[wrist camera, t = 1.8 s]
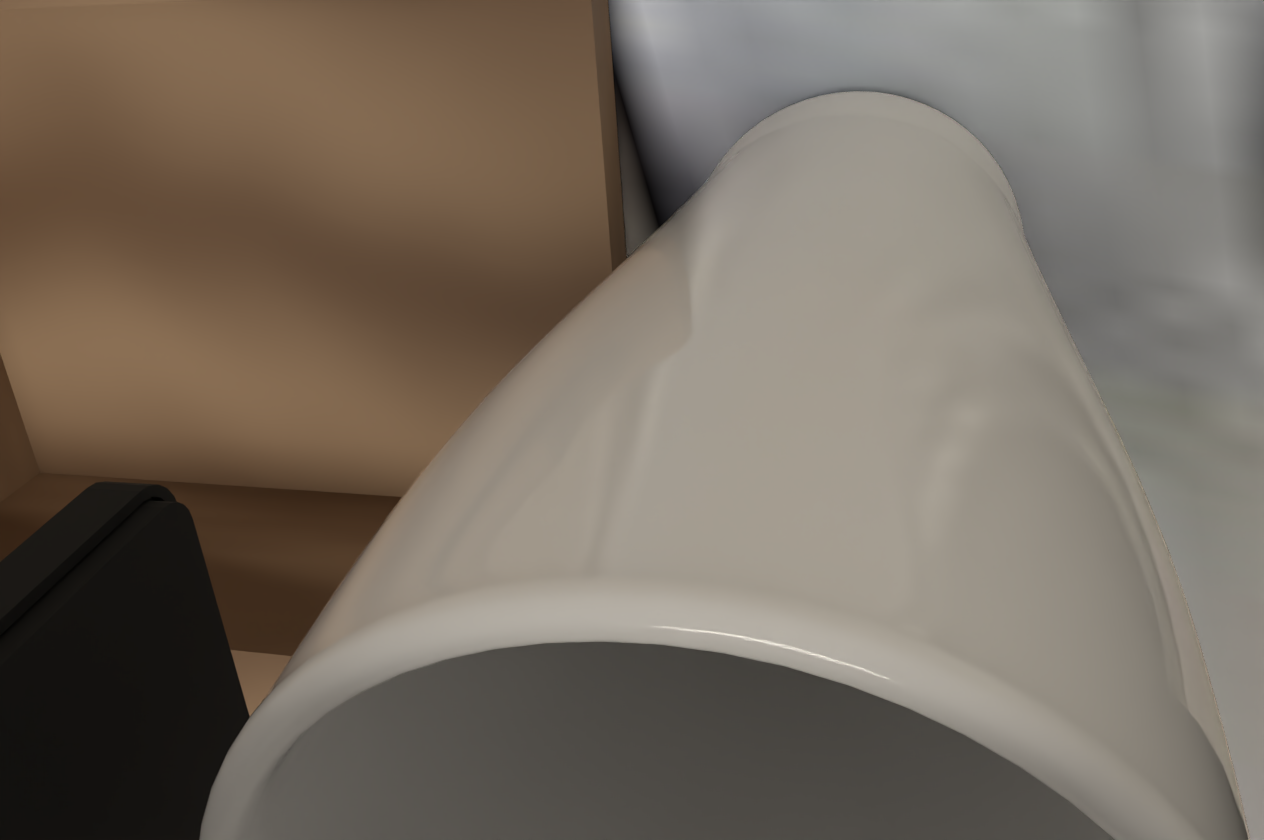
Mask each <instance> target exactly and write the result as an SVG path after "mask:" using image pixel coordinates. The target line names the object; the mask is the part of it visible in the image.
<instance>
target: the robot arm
mask: <svg viewBox="0 0 1264 840" xmlns="http://www.w3.org/2000/svg"><path fill="white" fill-rule="evenodd" d="M249 717H250V716H249V712H248V709H247V706H246V702H245V699H244V695H243V692H242V688H241V685H240V681H239V678H238V674H237V671H236V667H235V664H234V660H233V657H232V653H231V650H230V646H229V643H228V639H227V636H226V632H225V629H224V625H223V622H222V618H221V615H220V611H219V608H218V605H217V601H216V598H215V594H214V591H213V587H212V584H211V580H210V577H209V573H208V570H207V566H206V563H205V559H204V556H203V552H202V549H201V545H200V542H199V538H198V535H197V531H196V528H195V524H194V521H193V518H192V516H191V513H190V511H189V509H188V508H187V507H186V506H185V505H184V504H182V503H179V502H177V501H176V499H175V496H174V495H173V494H172V493H171V492H170V491H169V489H168V488H166V487H163V486H161V485H159V484H142V483H125V482H108V481H105V482H96V483H94V484H93V485H91V486H89V487H88V488H86V489H85V490H84V491H83V492H81V493H80V494H79V495H78V496H77V497H76V498H74V499H73V500H72V501H71V502H70V503H69V504H67V505H66V506H65V507H64V508H63V509H62V510H60V511H59V512H58V513H57V514H56V515H55V516H53V517H52V518H51V519H50V520H49V521H47V522H46V523H45V524H44V525H43V526H42V527H40V528H39V529H38V530H37V531H36V532H35V533H33V534H32V535H31V536H30V537H29V538H28V539H26V540H25V541H24V542H23V543H22V544H21V545H19V546H18V547H17V548H16V549H15V550H14V551H12V552H11V553H10V554H9V555H8V556H6V557H5V558H4V559H3V560H2V561H1V562H0V840H199V838H200V831H201V823H202V819H203V815H204V812H205V808H206V805H207V802H208V798H209V795H210V791H211V788H212V785H213V782H214V780H215V778H216V776H217V774H218V772H219V769H220V767H221V765H222V763H223V761H224V759H225V756H226V754H227V752H228V750H229V748H230V746H231V745H232V743H233V742H234V740H235V739H236V737H237V736H238V734H239V733H240V731H241V730H242V728H243V727H244V725H245V723H246V722H247V720H248V719H249Z"/></svg>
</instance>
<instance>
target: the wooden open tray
mask: <svg viewBox="0 0 1264 840" xmlns="http://www.w3.org/2000/svg"><path fill="white" fill-rule="evenodd" d="M625 259H626V247H625V232H624V218H623V204H622V190H621V176H620V162H619V148H618V134H617V120H616V106H615V92H614V78H613V64H612V50H611V36H610V22H609V7H608V0H0V562H1V561H2V560H3V559H4V558H5V557H6V556H8V555H9V554H10V553H11V552H12V551H14V550H15V549H16V548H17V547H18V546H19V545H21V544H22V543H23V542H24V541H25V540H26V539H28V538H29V537H30V536H31V535H32V534H33V533H35V532H36V531H37V530H38V529H39V528H40V527H42V526H43V525H44V524H45V523H46V522H47V521H49V520H50V519H51V518H52V517H53V516H55V515H56V514H57V513H58V512H59V511H60V510H62V509H63V508H64V507H65V506H66V505H67V504H69V503H70V502H71V501H72V500H73V499H74V498H76V497H77V496H78V495H79V494H80V493H81V492H83V491H84V490H85V489H86V488H88V487H89V486H91V485H93V484H94V483H96V482H105V481H108V482H125V483H142V484H159V485H161V486H163V487H166V488H168V489H169V491H170V492H171V493H172V494H173V495H174V496H175V499H176V501H177V502H179V503H182V504H184V505H185V506H186V507H187V508H188V509H189V511H190V513H191V516H192V518H193V521H194V524H195V528H196V531H197V535H198V538H199V542H200V545H201V549H202V552H203V556H204V559H205V563H206V566H207V570H208V573H209V577H210V580H211V584H212V587H213V591H214V594H215V598H216V601H217V605H218V608H219V611H220V615H221V618H222V622H223V625H224V629H225V632H226V636H227V639H228V643H229V646H230V650H231V653H232V657H233V660H234V664H235V667H236V671H237V674H238V678H239V681H240V685H241V688H242V692H243V695H244V699H245V702H246V706H247V709H248V712H249V716H251V714H252V713H253V712H254V711H255V709H256V708H257V707H258V706H259V704H260V703H261V702H262V700H263V699H264V697H265V696H266V695H267V693H268V692H269V690H270V689H271V687H272V686H273V684H274V683H275V681H276V679H277V678H278V676H279V675H280V673H281V672H282V670H283V669H284V667H285V666H286V664H287V662H288V661H289V659H290V658H291V656H292V655H293V653H294V652H295V650H296V649H297V647H298V646H299V644H300V643H301V641H302V640H303V638H304V637H305V635H306V634H307V632H308V631H309V629H310V628H311V626H312V624H313V623H314V621H315V620H316V618H317V617H318V615H319V614H320V612H321V611H322V609H323V608H324V606H325V605H326V603H327V602H328V600H329V599H330V597H331V596H332V594H333V593H334V591H335V590H336V588H337V587H338V585H339V584H340V583H341V581H342V580H343V578H344V577H345V575H346V574H347V572H348V571H349V569H350V568H351V567H352V565H353V564H354V562H355V561H356V559H357V558H358V556H359V555H360V553H361V552H362V551H363V549H364V548H365V547H366V545H367V544H368V542H369V541H370V540H371V538H372V537H373V535H374V534H375V533H376V531H377V530H378V528H379V527H380V526H381V524H382V523H383V522H384V520H385V519H386V517H387V516H388V515H389V513H390V512H391V511H392V509H393V508H394V507H395V506H396V504H397V503H398V502H399V500H400V499H401V498H402V496H403V495H404V494H405V492H406V491H407V490H408V488H409V487H410V486H411V484H412V483H413V482H414V481H415V479H416V478H417V477H418V476H419V474H420V473H421V472H422V471H423V469H424V468H425V467H426V466H427V464H428V463H429V462H430V461H431V459H432V458H433V457H434V456H435V455H436V453H437V452H438V451H439V450H440V448H441V447H442V446H443V445H444V444H445V442H446V441H447V440H448V439H449V438H450V437H451V435H452V434H453V433H454V432H455V431H456V430H457V428H458V427H459V426H460V425H461V424H462V423H463V421H464V420H465V419H466V418H467V417H468V416H469V415H470V413H471V412H472V411H473V410H474V409H475V408H476V407H477V405H478V404H479V403H480V402H481V401H482V400H483V398H484V397H485V396H486V395H487V394H488V393H489V392H490V390H491V389H492V388H493V387H494V386H495V385H496V384H497V383H498V382H499V381H500V380H501V379H502V378H503V377H504V376H505V375H506V373H507V372H508V371H509V370H510V369H511V368H512V367H513V366H514V365H515V364H516V363H517V362H518V361H519V360H520V359H521V358H522V357H523V356H524V355H525V354H526V353H527V352H528V351H529V350H530V349H531V348H532V347H533V346H534V345H535V344H536V343H537V342H538V341H539V340H540V339H541V338H542V337H543V336H545V335H546V334H547V333H548V332H549V331H550V330H551V329H552V328H553V327H554V326H555V325H556V324H557V323H558V322H559V321H560V320H561V319H562V318H564V317H565V316H566V315H567V314H568V313H569V312H570V311H571V310H572V309H573V308H574V307H575V306H576V305H577V304H578V303H580V302H581V301H582V300H583V299H584V298H585V297H586V296H587V295H588V294H589V293H590V292H591V291H592V290H593V289H594V288H596V287H597V286H598V285H599V284H600V283H601V282H602V281H603V280H604V279H605V278H606V277H607V276H608V275H609V274H611V273H612V272H613V271H614V270H615V269H616V268H617V267H618V266H619V265H620V264H621V263H622V262H623V261H624V260H625Z"/></svg>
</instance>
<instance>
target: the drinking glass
mask: <svg viewBox="0 0 1264 840" xmlns="http://www.w3.org/2000/svg"><path fill="white" fill-rule="evenodd" d="M199 840H1251V839H1250V834H1249V830H1248V826H1247V821H1246V817H1245V813H1244V808H1243V804H1242V800H1241V795H1240V791H1239V787H1238V783H1237V778H1236V774H1235V770H1234V767H1233V763H1232V759H1231V755H1230V751H1229V747H1228V743H1227V739H1226V735H1225V731H1224V727H1223V724H1222V720H1221V717H1220V713H1219V709H1218V706H1217V702H1216V698H1215V695H1214V691H1213V688H1212V684H1211V681H1210V677H1209V674H1208V670H1207V667H1206V663H1205V660H1204V656H1203V652H1202V649H1201V645H1200V642H1199V638H1198V635H1197V632H1196V629H1195V626H1194V623H1193V620H1192V616H1191V613H1190V610H1189V607H1188V604H1187V601H1186V598H1185V595H1184V591H1183V589H1182V586H1181V583H1180V580H1179V577H1178V575H1177V572H1176V569H1175V566H1174V564H1173V561H1172V558H1171V555H1170V552H1169V550H1168V547H1167V545H1166V542H1165V540H1164V537H1163V535H1162V532H1161V530H1160V527H1159V525H1158V523H1157V520H1156V518H1155V515H1154V513H1153V510H1152V508H1151V505H1150V503H1149V501H1148V498H1147V496H1146V493H1145V491H1144V489H1143V486H1142V484H1141V481H1140V479H1139V477H1138V474H1137V472H1136V470H1135V468H1134V466H1133V463H1132V461H1131V459H1130V457H1129V455H1128V453H1127V450H1126V448H1125V446H1124V444H1123V442H1122V440H1121V437H1120V435H1119V433H1118V431H1117V429H1116V427H1115V425H1114V423H1113V421H1112V419H1111V416H1110V414H1109V412H1108V410H1107V408H1106V406H1105V404H1104V402H1103V400H1102V398H1101V396H1100V394H1099V392H1098V390H1097V388H1096V386H1095V384H1094V381H1093V379H1092V377H1091V375H1090V373H1089V371H1088V369H1087V367H1086V365H1085V363H1084V361H1083V359H1082V357H1081V355H1080V353H1079V351H1078V349H1077V347H1076V345H1075V343H1074V340H1073V338H1072V336H1071V334H1070V332H1069V330H1068V328H1067V326H1066V324H1065V322H1064V320H1063V318H1062V316H1061V313H1060V311H1059V309H1058V307H1057V305H1056V303H1055V301H1054V299H1053V297H1052V295H1051V293H1050V290H1049V288H1048V286H1047V284H1046V282H1045V280H1044V278H1043V275H1042V273H1041V271H1040V269H1039V267H1038V265H1037V263H1036V260H1035V258H1034V256H1033V254H1032V252H1031V249H1030V247H1029V245H1028V243H1027V241H1026V238H1025V236H1024V230H1023V225H1022V220H1021V215H1020V212H1019V208H1018V205H1017V202H1016V198H1015V196H1014V194H1013V191H1012V189H1011V187H1010V184H1009V182H1008V180H1007V178H1006V177H1005V175H1004V173H1003V171H1002V169H1001V168H1000V166H999V165H998V163H997V162H996V161H995V159H994V158H993V156H992V155H991V154H990V152H989V151H988V150H987V149H986V148H985V147H984V146H983V144H982V143H981V142H980V141H979V140H978V139H977V138H976V137H975V136H973V135H972V134H971V133H970V132H969V131H968V130H967V129H966V128H964V127H963V126H962V125H960V124H959V123H958V122H956V121H955V120H953V119H952V118H950V117H948V116H947V115H945V114H943V113H942V112H940V111H938V110H936V109H934V108H932V107H930V106H928V105H925V104H923V103H920V102H917V101H915V100H912V99H909V98H905V97H901V96H897V95H893V94H887V93H879V92H866V91H851V92H838V93H832V94H826V95H821V96H817V97H813V98H809V99H806V100H803V101H801V102H798V103H795V104H793V105H790V106H788V107H786V108H784V109H782V110H780V111H778V112H776V113H774V114H772V115H771V116H769V117H767V118H766V119H764V120H762V121H761V122H760V123H758V124H757V125H756V126H754V127H753V128H752V129H750V130H749V131H748V132H747V133H746V134H744V135H743V136H742V137H741V138H740V139H739V140H738V141H737V142H736V143H735V144H734V145H733V146H732V147H731V148H730V150H729V151H728V152H727V153H726V154H725V155H724V156H723V158H722V159H721V160H720V162H719V163H718V165H717V166H716V167H715V169H714V170H713V172H712V173H711V175H710V176H709V178H708V180H707V181H706V182H705V183H704V184H703V185H702V186H701V187H700V188H699V189H698V190H697V191H696V192H695V193H694V194H693V195H692V196H691V197H690V198H689V199H688V200H687V201H686V202H685V203H684V204H683V205H682V206H681V207H680V208H679V209H678V210H677V211H676V212H675V213H674V214H673V215H672V216H671V217H670V218H669V219H667V220H666V221H665V222H664V223H663V224H662V225H661V226H660V227H659V228H658V229H657V230H656V231H655V232H654V233H653V234H652V235H651V236H650V237H649V238H648V239H647V240H646V241H644V242H643V243H642V244H641V245H640V246H639V247H638V248H637V249H636V250H635V251H634V252H633V253H632V254H631V255H630V256H629V257H628V258H627V259H625V260H624V261H623V262H622V263H621V264H620V265H619V266H618V267H617V268H616V269H615V270H614V271H613V272H612V273H611V274H609V275H608V276H607V277H606V278H605V279H604V280H603V281H602V282H601V283H600V284H599V285H598V286H597V287H596V288H594V289H593V290H592V291H591V292H590V293H589V294H588V295H587V296H586V297H585V298H584V299H583V300H582V301H581V302H580V303H578V304H577V305H576V306H575V307H574V308H573V309H572V310H571V311H570V312H569V313H568V314H567V315H566V316H565V317H564V318H562V319H561V320H560V321H559V322H558V323H557V324H556V325H555V326H554V327H553V328H552V329H551V330H550V331H549V332H548V333H547V334H546V335H545V336H543V337H542V338H541V339H540V340H539V341H538V342H537V343H536V344H535V345H534V346H533V347H532V348H531V349H530V350H529V351H528V352H527V353H526V354H525V355H524V356H523V357H522V358H521V359H520V360H519V361H518V362H517V363H516V364H515V365H514V366H513V367H512V368H511V369H510V370H509V371H508V372H507V373H506V375H505V376H504V377H503V378H502V379H501V380H500V381H499V382H498V383H497V384H496V385H495V386H494V387H493V388H492V389H491V390H490V392H489V393H488V394H487V395H486V396H485V397H484V398H483V400H482V401H481V402H480V403H479V404H478V405H477V407H476V408H475V409H474V410H473V411H472V412H471V413H470V415H469V416H468V417H467V418H466V419H465V420H464V421H463V423H462V424H461V425H460V426H459V427H458V428H457V430H456V431H455V432H454V433H453V434H452V435H451V437H450V438H449V439H448V440H447V441H446V442H445V444H444V445H443V446H442V447H441V448H440V450H439V451H438V452H437V453H436V455H435V456H434V457H433V458H432V459H431V461H430V462H429V463H428V464H427V466H426V467H425V468H424V469H423V471H422V472H421V473H420V474H419V476H418V477H417V478H416V479H415V481H414V482H413V483H412V484H411V486H410V487H409V488H408V490H407V491H406V492H405V494H404V495H403V496H402V498H401V499H400V500H399V502H398V503H397V504H396V506H395V507H394V508H393V509H392V511H391V512H390V513H389V515H388V516H387V517H386V519H385V520H384V522H383V523H382V524H381V526H380V527H379V528H378V530H377V531H376V533H375V534H374V535H373V537H372V538H371V540H370V541H369V542H368V544H367V545H366V547H365V548H364V549H363V551H362V552H361V553H360V555H359V556H358V558H357V559H356V561H355V562H354V564H353V565H352V567H351V568H350V569H349V571H348V572H347V574H346V575H345V577H344V578H343V580H342V581H341V583H340V584H339V585H338V587H337V588H336V590H335V591H334V593H333V594H332V596H331V597H330V599H329V600H328V602H327V603H326V605H325V606H324V608H323V609H322V611H321V612H320V614H319V615H318V617H317V618H316V620H315V621H314V623H313V624H312V626H311V628H310V629H309V631H308V632H307V634H306V635H305V637H304V638H303V640H302V641H301V643H300V644H299V646H298V647H297V649H296V650H295V652H294V653H293V655H292V656H291V658H290V659H289V661H288V662H287V664H286V666H285V667H284V669H283V670H282V672H281V673H280V675H279V676H278V678H277V679H276V681H275V683H274V684H273V686H272V687H271V689H270V690H269V692H268V693H267V695H266V696H265V697H264V699H263V700H262V702H261V703H260V704H259V706H258V707H257V708H256V709H255V711H254V712H253V713H252V714H251V716H250V717H249V719H248V720H247V722H246V723H245V725H244V727H243V728H242V730H241V731H240V733H239V734H238V736H237V737H236V739H235V740H234V742H233V743H232V745H231V746H230V748H229V750H228V752H227V754H226V756H225V759H224V761H223V763H222V765H221V767H220V769H219V772H218V774H217V776H216V778H215V780H214V782H213V785H212V788H211V791H210V795H209V798H208V802H207V805H206V808H205V812H204V815H203V819H202V823H201V831H200V838H199Z"/></svg>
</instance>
